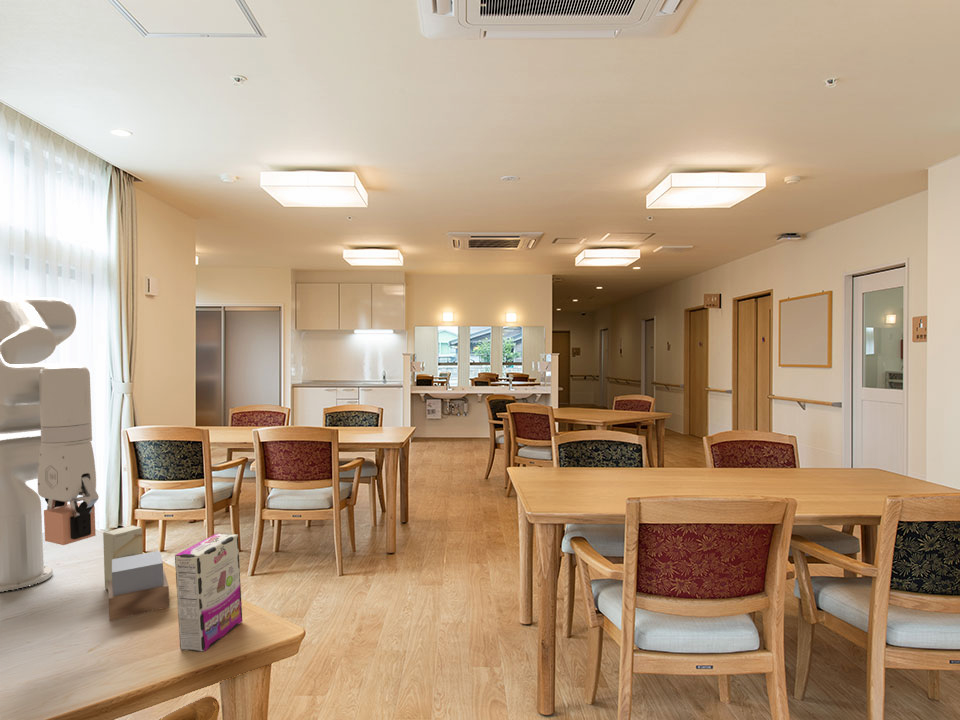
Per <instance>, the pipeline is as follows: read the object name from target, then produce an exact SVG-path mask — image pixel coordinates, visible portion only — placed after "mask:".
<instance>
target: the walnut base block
mask: <svg viewBox="0 0 960 720" xmlns="http://www.w3.org/2000/svg"><path fill="white" fill-rule="evenodd" d="M163 580H164V586H160V587H155V588H150V589H145V590H140V591H135V592H131V593H126V594H121V595H116V596H113V586H112V581H108V589H107V591H108V592H107V593H108V597H107V598H108V613H109V614H108V618H109V621H113V620H114V619H115V620H119V619H123V618H127V617H131V616H136V615H140V614H144V612H145V613H149V612H148V611H150V612H153V611H152V610H154V611H157V609H158V610H162V608H163V609H166V608H170V591H169V590H170V586H169V583H168V579H167V575H166V572H165V570H163Z"/></svg>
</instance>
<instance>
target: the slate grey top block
mask: <svg viewBox="0 0 960 720" xmlns="http://www.w3.org/2000/svg"><path fill="white" fill-rule="evenodd" d="M163 571H164V562H163V558H162V554H161V551H160V550H158V551H157V550H156V551H151V552H146V553H145V552H144V553H143V554H139V555H134V556H128V557H122V558H117V559H112V586H113V596H116V595H121V594H126V593H131V592H135V591H140V590H145V589H150V588H155V587H160V586H164V580H163Z"/></svg>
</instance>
